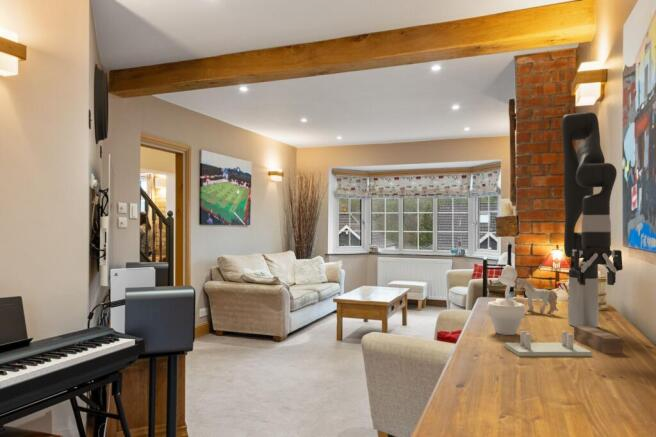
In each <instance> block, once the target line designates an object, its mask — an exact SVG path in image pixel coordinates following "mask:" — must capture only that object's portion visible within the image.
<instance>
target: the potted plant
mask: <svg viewBox="0 0 656 437" xmlns="http://www.w3.org/2000/svg"><path fill="white" fill-rule="evenodd" d="M498 262H499V261H496V265H498V264H499V263H498ZM517 271H518V270H517V269H515V267H514V266H512V265H510V264H505V266H504V267H503V269H502V270H501V275H498V278H497V280H498V281H499V282H500V283H501V284H502V285H505V286H506V287H505V292H504V298H496V299H495V300H493V301H488V302H487V304H486V305H487V308H486V310H487V312H486V313H487V316H489V317H490V319H491V323H492V325H493V329H494V332H495V333H497V334H499V335H503V336H514V335H516V334H517V333H518V331H519V330H518V329H519V327H520V324H521V321H522V319H524V318H525V317H526V311H525V310H526V304H524V303H522V302H517V301H516V300H514V299H512V298H510V290H511V288H513V287H515V286H517V284H516V283H515V282H514V281H516V279H517V277H518V272H517ZM493 275H494V276H495V271H494V272H493Z"/></svg>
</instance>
